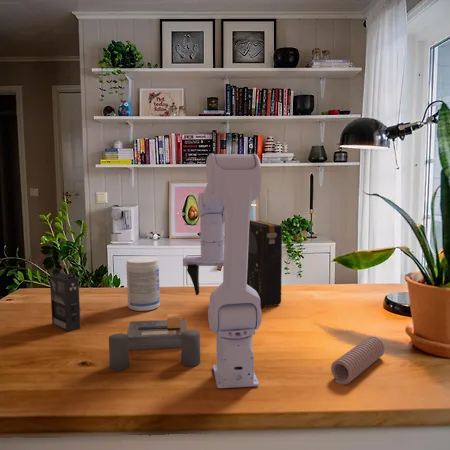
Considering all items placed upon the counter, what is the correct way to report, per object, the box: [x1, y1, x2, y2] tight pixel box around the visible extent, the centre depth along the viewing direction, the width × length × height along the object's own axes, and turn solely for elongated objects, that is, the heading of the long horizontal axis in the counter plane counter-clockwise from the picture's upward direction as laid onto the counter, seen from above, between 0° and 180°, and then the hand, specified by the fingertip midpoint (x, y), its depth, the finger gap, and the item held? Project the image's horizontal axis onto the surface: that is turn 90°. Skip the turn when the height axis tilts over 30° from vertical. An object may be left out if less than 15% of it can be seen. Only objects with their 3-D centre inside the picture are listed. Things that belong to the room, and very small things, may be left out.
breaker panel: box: [126, 318, 188, 351], centre depth 108 cm, size 11×14×3 cm
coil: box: [330, 335, 386, 386], centre depth 92 cm, size 5×5×18 cm
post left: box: [108, 333, 130, 372], centre depth 93 cm, size 4×4×6 cm
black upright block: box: [247, 219, 283, 309], centre depth 139 cm, size 16×9×25 cm, turn 25°
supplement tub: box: [125, 256, 161, 312], centre depth 133 cm, size 10×10×15 cm
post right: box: [180, 329, 201, 368], centre depth 95 cm, size 4×4×6 cm
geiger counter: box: [49, 267, 82, 332], centre depth 117 cm, size 10×5×15 cm, turn 48°
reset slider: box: [166, 313, 181, 328], centre depth 108 cm, size 3×3×2 cm
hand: (212, 294), depth 112 cm, fingers open, 7 cm apart
